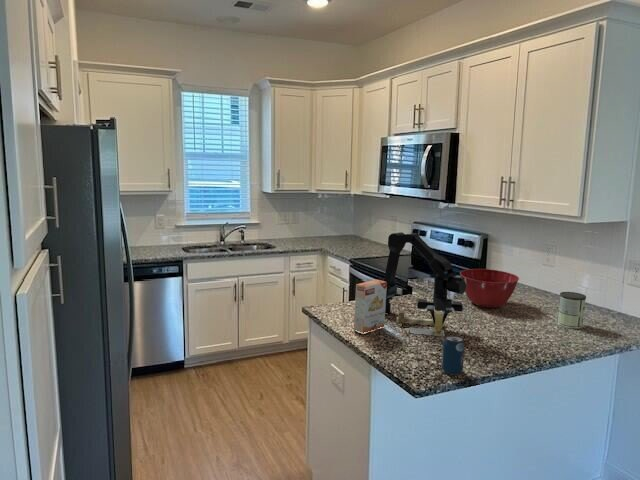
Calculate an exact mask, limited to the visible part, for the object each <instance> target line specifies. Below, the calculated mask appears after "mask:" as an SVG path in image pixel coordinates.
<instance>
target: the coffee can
mask: <svg viewBox="0 0 640 480" xmlns="http://www.w3.org/2000/svg"><path fill="white" fill-rule="evenodd" d="M586 299H587V296H586V295H585V294H583V293H581V292H580V293H579V292H574V291H562V292H560V293H559V303H558V304H559V305H558V312H557V313H558V314H557V325H559V326H561V327H563V328H569V329H582V328H583V327H584V317H585V307H586Z"/></svg>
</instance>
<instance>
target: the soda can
mask: <svg viewBox="0 0 640 480" xmlns="http://www.w3.org/2000/svg"><path fill="white" fill-rule="evenodd" d="M442 344H443V345H442V360H441V369H442V370H443V372H444V374H446V375H449V374H450V375H449V376H459V375H461V373H462V372H463V370H464V361H465V360H464V358H465V346H466V345H465V342H464V339H463V337H461V336H459V335H455V334H453V335H451V334H450V335H445V338H444V340H443V343H442Z"/></svg>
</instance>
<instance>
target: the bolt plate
mask: <svg viewBox="0 0 640 480" xmlns="http://www.w3.org/2000/svg"><path fill="white" fill-rule="evenodd" d="M408 327H409V326H408ZM408 330H410V332H411V333H414V334H413V335H419V334H425V335H424V336H431V335H434V336H433V337H443V336H444V337H445V338H446V335H445V331H444V329H442V330H440V331H438V330H436V329H434V328H423V327H412V326H411V327H409V329H408Z"/></svg>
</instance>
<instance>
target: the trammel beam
mask: <svg viewBox="0 0 640 480" xmlns="http://www.w3.org/2000/svg"><path fill="white" fill-rule="evenodd" d="M396 322H398V323H397V325H398V324H400V326H399V327H400V328H402V327H403V326H402V325H405V324H404V323H409V324H408V325H414V324H421V325H420V326H427V325H430V327H434V322H433V319H432V318H431V319H430V318H421V317H420V318H417V317H408V316H407V317H406V316H405V310H398V316H396ZM443 326H444V324H443V325H442V328H443Z"/></svg>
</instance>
